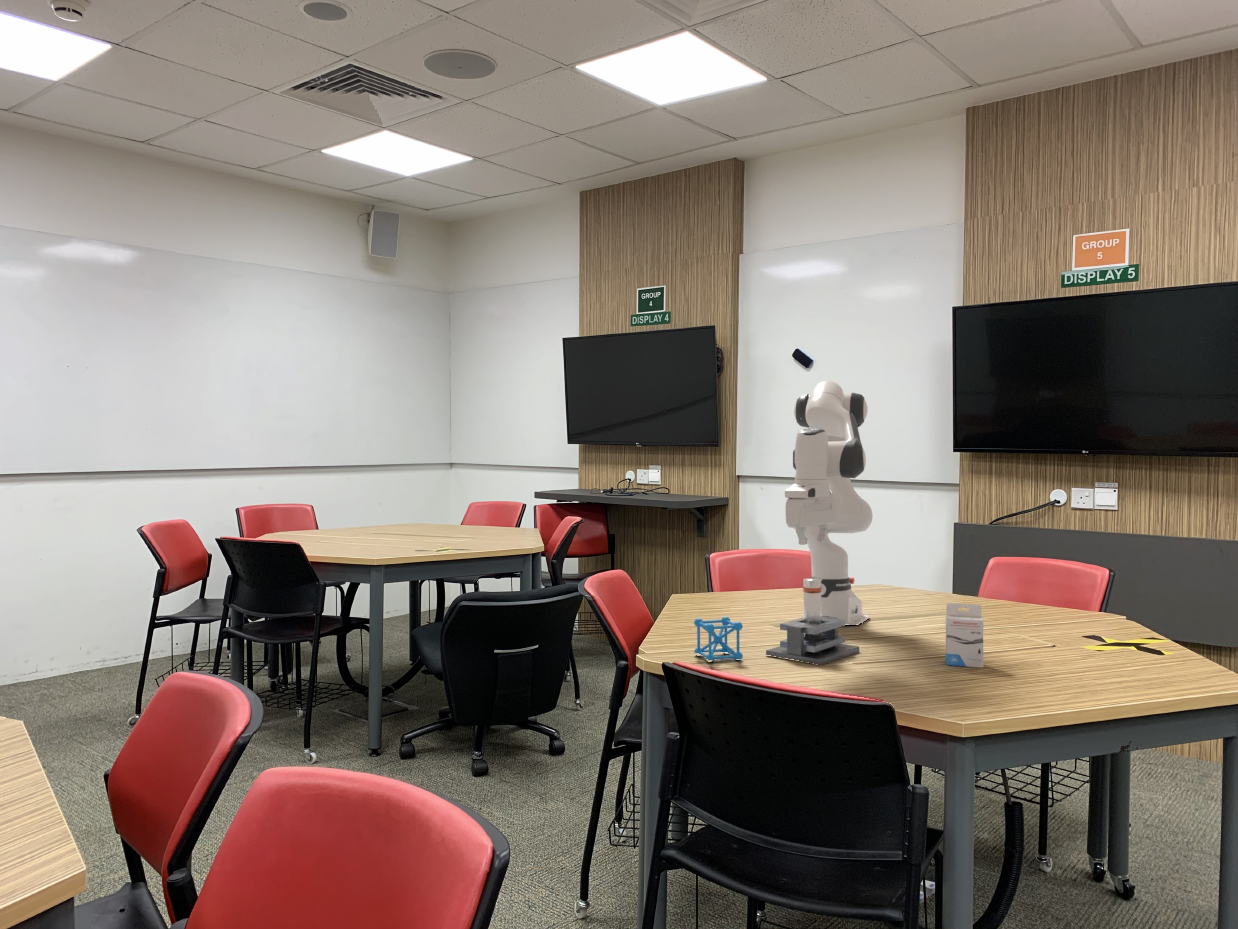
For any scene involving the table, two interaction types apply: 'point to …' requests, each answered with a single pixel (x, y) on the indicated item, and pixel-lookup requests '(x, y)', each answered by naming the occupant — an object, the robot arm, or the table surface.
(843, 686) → the table surface
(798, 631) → the collar stand
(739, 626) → the molecular structure
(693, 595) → the table surface
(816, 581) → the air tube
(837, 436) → the robot arm
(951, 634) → the ink box
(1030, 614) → the table surface
